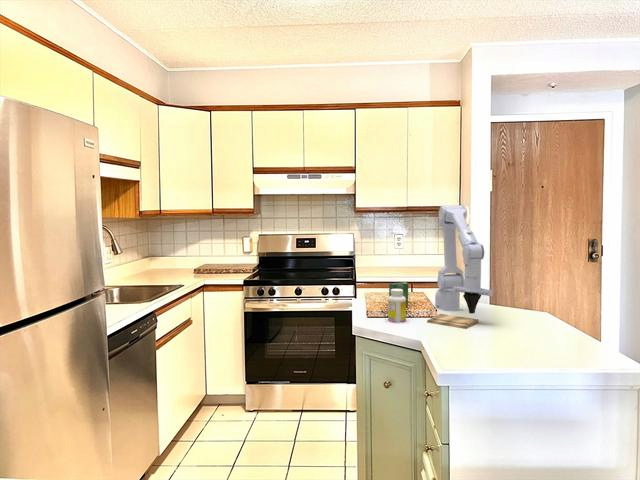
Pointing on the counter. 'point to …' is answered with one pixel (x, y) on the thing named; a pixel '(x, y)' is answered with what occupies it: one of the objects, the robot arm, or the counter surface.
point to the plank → (455, 319)
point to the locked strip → (448, 323)
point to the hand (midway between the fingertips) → (471, 313)
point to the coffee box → (400, 286)
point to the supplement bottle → (397, 306)
